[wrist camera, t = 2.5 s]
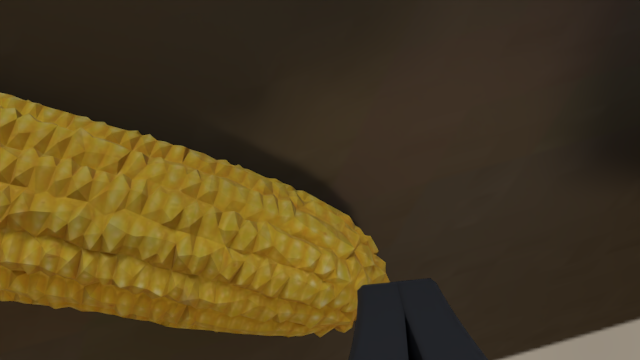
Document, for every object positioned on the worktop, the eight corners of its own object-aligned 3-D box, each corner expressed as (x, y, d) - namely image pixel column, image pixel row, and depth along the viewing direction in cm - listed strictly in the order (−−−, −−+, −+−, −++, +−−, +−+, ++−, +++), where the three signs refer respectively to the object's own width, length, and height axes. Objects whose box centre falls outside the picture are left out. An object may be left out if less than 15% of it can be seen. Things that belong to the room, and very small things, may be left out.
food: (-263, 147, 18) (-487, 269, 13) (-307, -29, 15) (-614, 37, 10) (357, 286, 22) (373, 425, 16) (412, 163, 19) (451, 284, 14)
